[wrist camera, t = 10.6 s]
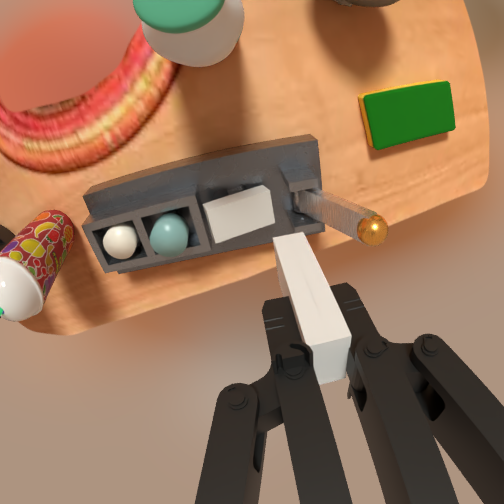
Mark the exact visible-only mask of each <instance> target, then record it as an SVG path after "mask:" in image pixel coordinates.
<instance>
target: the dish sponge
mask: <svg viewBox="0 0 504 504" xmlns="http://www.w3.org/2000/svg"><path fill="white" fill-rule="evenodd" d="M358 100H359V104H360V108H361V112H362V117H363V121H364V126H365V130H366V135H367V140H368V145H370V146H371V147H373V148H375V149H376V150H380V149H384V148H387V147H391V146H395V145H398V144H402V143H406V142H409V141H413V140H417V139H421V138H424V137H428V136H432V135H436V134H440V133H444V132H448V131H453V130H454V129H455V128H456V127H455V117H454V109H453V101H452V94H451V88H450V83H449V82H448V81H444V80H433V81H426V82H419V83H413V84H407V85H401V86H396V87H390V88H385V89H380V90H375V91H371V92H366V93H362V94H359V96H358Z"/></svg>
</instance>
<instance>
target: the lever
mask: <svg viewBox="0 0 504 504" xmlns="http://www.w3.org/2000/svg"><path fill="white" fill-rule="evenodd" d="M292 196H293V204H294V211H295V212H297V213H304V214H306V215H308V216H310V217H312V218H315V219H317V220H319V221H320V222H322V223H324V224H326V225H328V226H330V227H332V228H334V229H336V230H338V231H340V232H342V233H344V234H346V235H348V236H350V237H352V238H354V239H356V240H357V241H360V242H361V243H363V244H365V245H367V246H378V245H380V244H382V243H383V242H384V241H385V240H386V238H387V235H388V225H387V222H386V220H385V219H384V218H383V217H382V216H380V215H378V214H377V213H376V212H374V211H371V210H369V209H367V208H364V207H362V206H360V205H357V204H355V203H352V202H350V201H348V200H345V199H343V198H340V197H338V196H335V195H333V194H330V193H328V192H325V191H323V190H320V189H318V188H311V189H306V190H300V191H295V192H292Z"/></svg>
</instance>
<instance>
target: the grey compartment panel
mask: <svg viewBox="0 0 504 504" xmlns="http://www.w3.org/2000/svg"><path fill="white" fill-rule="evenodd" d="M260 185H264V186H265V187H266V188H267V189H269V190H270V194H271V200H272V207H273V213H274V219H275V223H273V224H271V225H268V226H265V227H262V228H259V229H256V230H253V231H250V232H248V233H245V234H242V235H239V236H236V237H233V238H231V239H228V240H225V241H222V242H219V243H215V241H214V239H213V238H212V236H211V232H210V229H209V225H208V222H207V218H206V215H205V211H204V208H203V204H204V203H207V202H210V201H213V200H216V199H219V198H222V197H226V196H229V195H232V194H235V193H238V192H241V191H244V190H247V189H251V188H254V187H257V186H260ZM311 188H318V189H320V190H322V181H321V170H320V159H319V149H318V140H317V139H316V138H314V137H313V136H312V135H310V134H308V135H302V136H295V137H289V138H282V139H276V140H271V141H265V142H260V143H254V144H249V145H244V146H239V147H234V148H229V149H225V150H220V151H216V152H211V153H207V154H203V155H198V156H194V157H190V158H186V159H182V160H178V161H174V162H171V163H167V164H163V165H160V166H156V167H152V168H149V169H145V170H142V171H139V172H135V173H132V174H129V175H125V176H122V177H119V178H116V179H113V180H110V181H107V182H104V183H101V184H98V185H95V186H92V187H91V188H90V189H89V190H88V191H87V192H86V193H85V194H84V195H83V198H84V201H85V203H86V205H87V208H88V210H89V212H90V215H89V216H88V217H87V219H86V220H85V222H84V223H83V224H82V228H83V230H84V232H85V234H86V237H87V239H88V241H89V243H90V245H91V247H92V249H93V251H94V253H95V255H96V257H97V259H98V261H99V263H100V265H101V267H102V268H103V270H104V272H105V273H109V272H113V271H117V272H118V274H121V273H126V272H131V271H135V270H140V269H145V268H150V267H155V266H159V265H164V264H169V263H174V262H179V261H183V260H188V259H193V258H198V257H203V256H208V255H212V254H217V253H222V252H227V251H232V250H237V249H242V248H246V247H251V246H256V245H261V244H266V243H271V242H273V238H274V237H279V236H284V235H289V234H294V233H300V232H303V233H304V235H305V236H306V235H310V234H315V233H320V232H325V224H324V223H322V222H320V221H319V220H317V219H315V218H312V217H310V216H308V215H306V214H304V213H297V212H295V211H294V204H293V196H292V192H295V191H300V190H306V189H311ZM167 213H174V214H177V215H180V216H181V217H183V218H184V219H185V220H186V222H187V223H188V226H189V235H188V242H187V246H186V249H185V250H184V252H183V253H181V254H180V255H178V256H175V257H165V256H162V255H160V254H158V253H157V252H155V251H154V249H153V248H152V246H151V244H150V235H151V232H152V230H153V227H154V224H155V222H156V220H157V219H158V218H159V217H160V216H162V215H164V214H167ZM126 221H131V222H133V223H134V225H135V227H136V230H137V232H138V235H139V237H140V238H139V241H138V243H137V246H136V248H135V251H134V253H133V254H132V256H130V257H129V258H126V259H117V258H114V257H112V256H111V255H110V254H108V253H107V251H106V250H105V248H104V245H103V239H104V236H105V234H106V233H107V231H108V229H109V228H110V226H111V225H115V224H119V223H122V222H126Z"/></svg>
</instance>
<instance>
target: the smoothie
mask: <svg viewBox="0 0 504 504" xmlns="http://www.w3.org/2000/svg"><path fill="white" fill-rule="evenodd" d="M73 242H74V227H73V224H72V222H71V220H70V219H69V218H68V216H67V215H66V214H64V213H62V212H61V211H57V210H49V211H44V212H42V213H41V214H39V215H38V216H37V217H36V218H35V219H34V220H33V221H32V222H30V223H29V224H28V225H27V226H26V227H25V228H24V229H23V230H22V231H21V232H20V233H19V234H18V235H17V236H16V237H14V238H13V239H12V240H11V241H10V242H9V243H8V244H7V245H6V246H5V247H4V248H3V249H2V250H1V251H0V316H1V317H3V318H4V319H7V320H10V321H22V320H25V319H28V318H30V317H31V316H33V315H37V314H38V313H39V312H40V311H41V310H42V307H43V304H44V302H45V300H46V298H47V295H48V293H49V291H50V289H51V287H52V285H53V282H54V280H55V278H56V276H57V274H58V272H59V270H60V268H61V266H62V264H63V262H64V260H65V258H66V256H67V254H68V252H69V251H70V249H71V247H72V245H73Z"/></svg>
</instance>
